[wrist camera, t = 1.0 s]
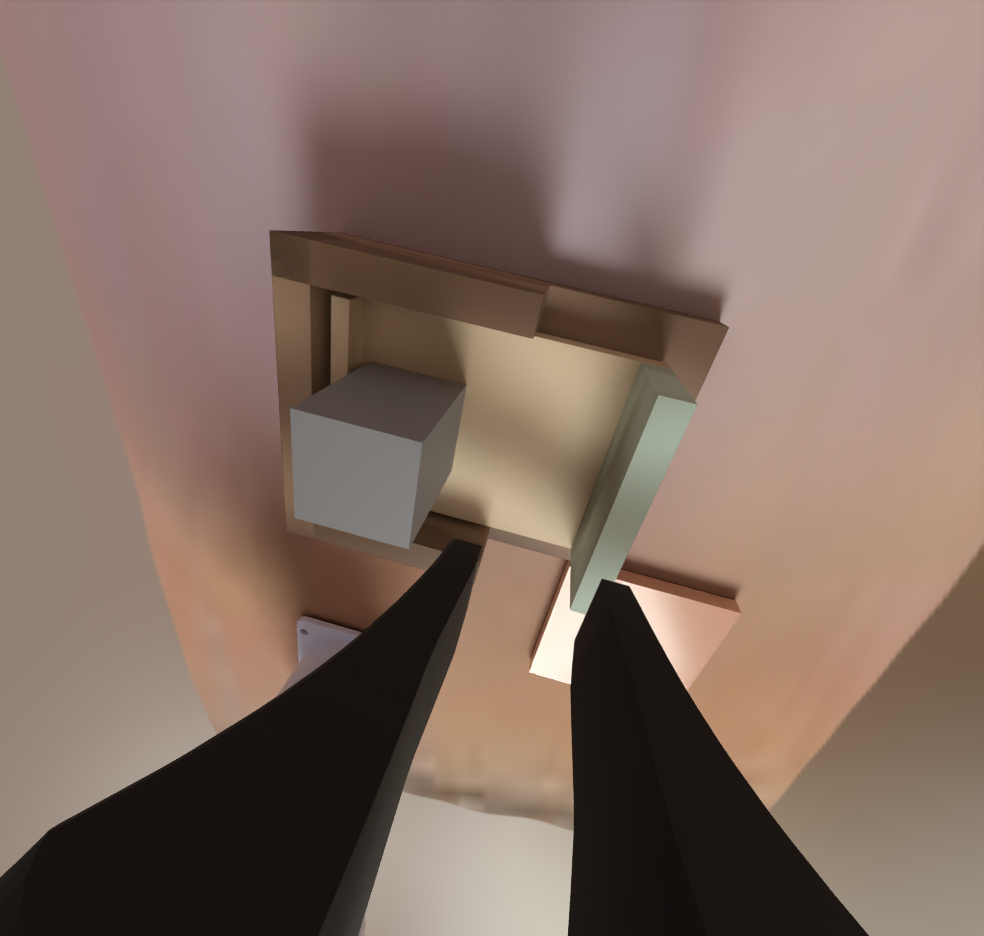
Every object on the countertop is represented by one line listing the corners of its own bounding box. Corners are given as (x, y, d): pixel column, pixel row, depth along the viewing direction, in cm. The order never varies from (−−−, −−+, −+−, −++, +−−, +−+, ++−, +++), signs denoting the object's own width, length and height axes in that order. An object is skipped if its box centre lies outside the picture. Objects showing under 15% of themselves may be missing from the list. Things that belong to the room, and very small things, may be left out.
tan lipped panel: (593, 543, 18) (597, 618, 15) (352, 478, 19) (298, 534, 15) (667, 363, 14) (697, 404, 11) (359, 288, 15) (290, 304, 11)
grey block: (451, 470, 17) (408, 549, 13) (365, 447, 17) (294, 518, 13) (466, 385, 15) (422, 442, 11) (370, 361, 15) (289, 407, 11)
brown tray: (614, 558, 20) (621, 625, 17) (334, 483, 21) (286, 531, 18) (720, 322, 15) (763, 347, 11) (338, 232, 16) (269, 230, 12)
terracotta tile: (668, 699, 24) (670, 713, 23) (530, 659, 24) (528, 672, 24) (735, 600, 20) (741, 613, 19) (569, 555, 21) (569, 566, 20)
